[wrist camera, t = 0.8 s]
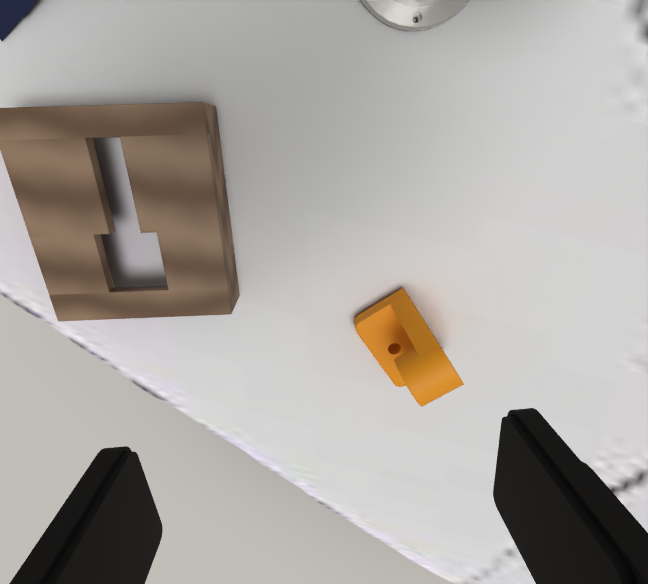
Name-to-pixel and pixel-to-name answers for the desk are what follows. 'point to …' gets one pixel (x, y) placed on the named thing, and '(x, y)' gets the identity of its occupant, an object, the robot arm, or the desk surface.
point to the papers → (12, 14)
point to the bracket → (407, 348)
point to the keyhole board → (149, 197)
